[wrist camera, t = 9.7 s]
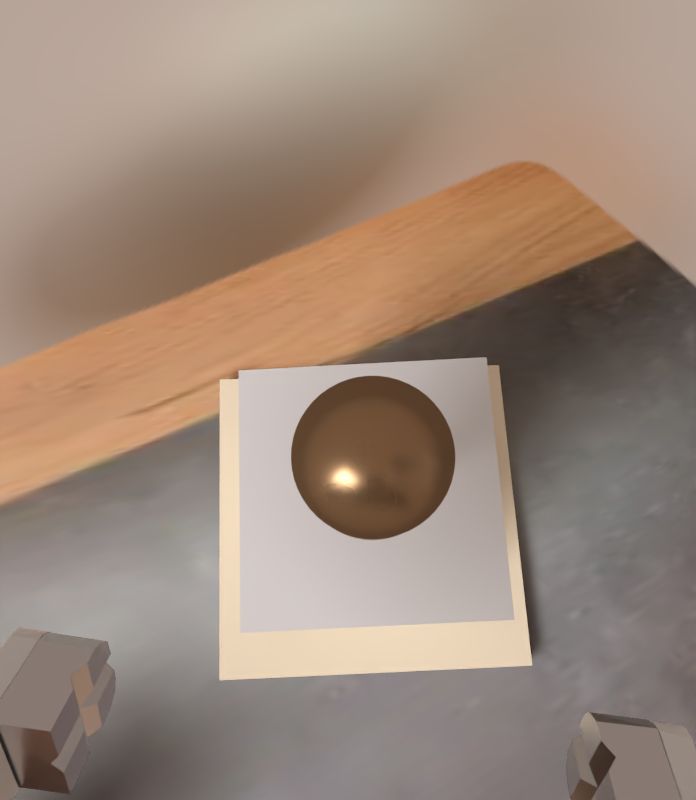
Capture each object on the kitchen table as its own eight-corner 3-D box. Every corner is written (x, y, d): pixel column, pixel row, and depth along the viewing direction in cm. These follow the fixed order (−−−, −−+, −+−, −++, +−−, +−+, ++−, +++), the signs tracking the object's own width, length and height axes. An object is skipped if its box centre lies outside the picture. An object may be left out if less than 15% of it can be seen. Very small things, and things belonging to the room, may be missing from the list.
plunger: (430, 436, 32) (514, 297, 14) (441, 575, 30) (553, 615, 12) (297, 443, 32) (214, 313, 14) (301, 582, 30) (213, 631, 13)
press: (494, 370, 40) (593, 237, 23) (526, 661, 36) (677, 766, 19) (223, 384, 41) (120, 263, 23) (224, 675, 36) (97, 793, 19)
